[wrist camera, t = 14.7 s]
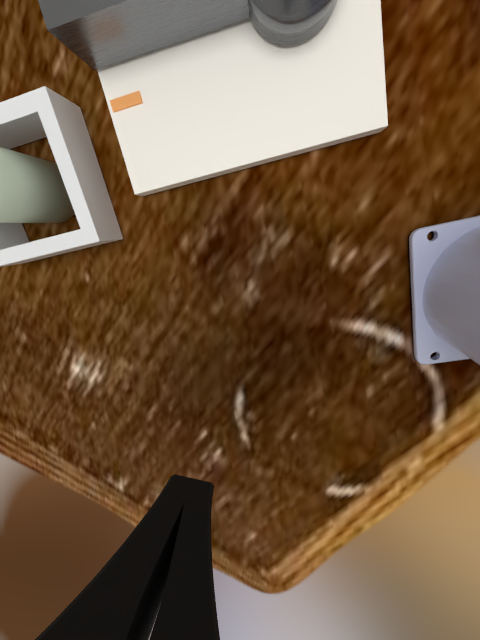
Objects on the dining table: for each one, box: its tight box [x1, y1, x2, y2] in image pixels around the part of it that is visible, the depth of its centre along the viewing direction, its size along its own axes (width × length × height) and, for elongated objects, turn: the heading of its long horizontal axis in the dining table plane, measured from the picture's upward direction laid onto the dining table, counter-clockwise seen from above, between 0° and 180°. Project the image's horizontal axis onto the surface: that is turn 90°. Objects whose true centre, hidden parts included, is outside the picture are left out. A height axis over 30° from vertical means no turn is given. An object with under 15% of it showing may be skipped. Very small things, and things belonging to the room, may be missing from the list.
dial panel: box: [97, 0, 388, 196], centre depth 13 cm, size 13×12×1 cm
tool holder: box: [0, 86, 123, 267], centre depth 16 cm, size 7×7×2 cm
